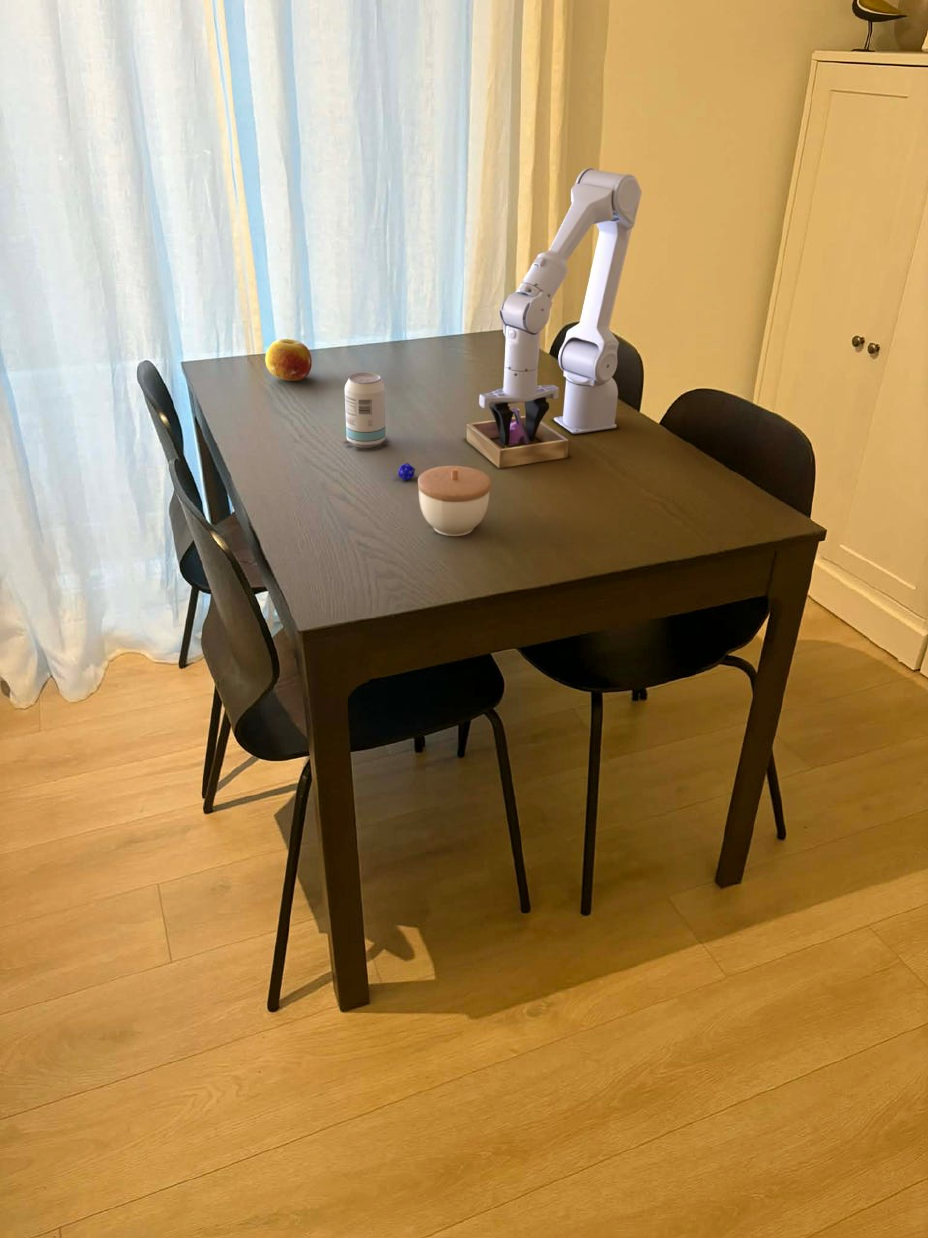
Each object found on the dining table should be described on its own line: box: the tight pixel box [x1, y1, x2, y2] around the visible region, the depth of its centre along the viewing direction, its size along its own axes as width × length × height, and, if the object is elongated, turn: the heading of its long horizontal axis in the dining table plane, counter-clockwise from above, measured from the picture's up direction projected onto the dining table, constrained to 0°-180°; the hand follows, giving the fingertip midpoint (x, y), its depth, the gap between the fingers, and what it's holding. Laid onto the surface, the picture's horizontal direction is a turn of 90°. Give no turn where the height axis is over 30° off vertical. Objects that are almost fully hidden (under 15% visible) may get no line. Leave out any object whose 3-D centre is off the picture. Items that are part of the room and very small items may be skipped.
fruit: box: [264, 338, 313, 382], centre depth 201 cm, size 10×9×8 cm
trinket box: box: [417, 465, 492, 537], centre depth 146 cm, size 11×11×9 cm
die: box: [397, 462, 416, 482], centre depth 162 cm, size 3×3×3 cm
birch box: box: [466, 415, 570, 469], centre depth 174 cm, size 13×13×3 cm
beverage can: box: [344, 371, 386, 449], centre depth 172 cm, size 7×7×12 cm
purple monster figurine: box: [503, 405, 531, 449], centre depth 173 cm, size 7×5×9 cm
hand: (516, 441), depth 174 cm, fingers closed on purple monster figurine, 4 cm apart
